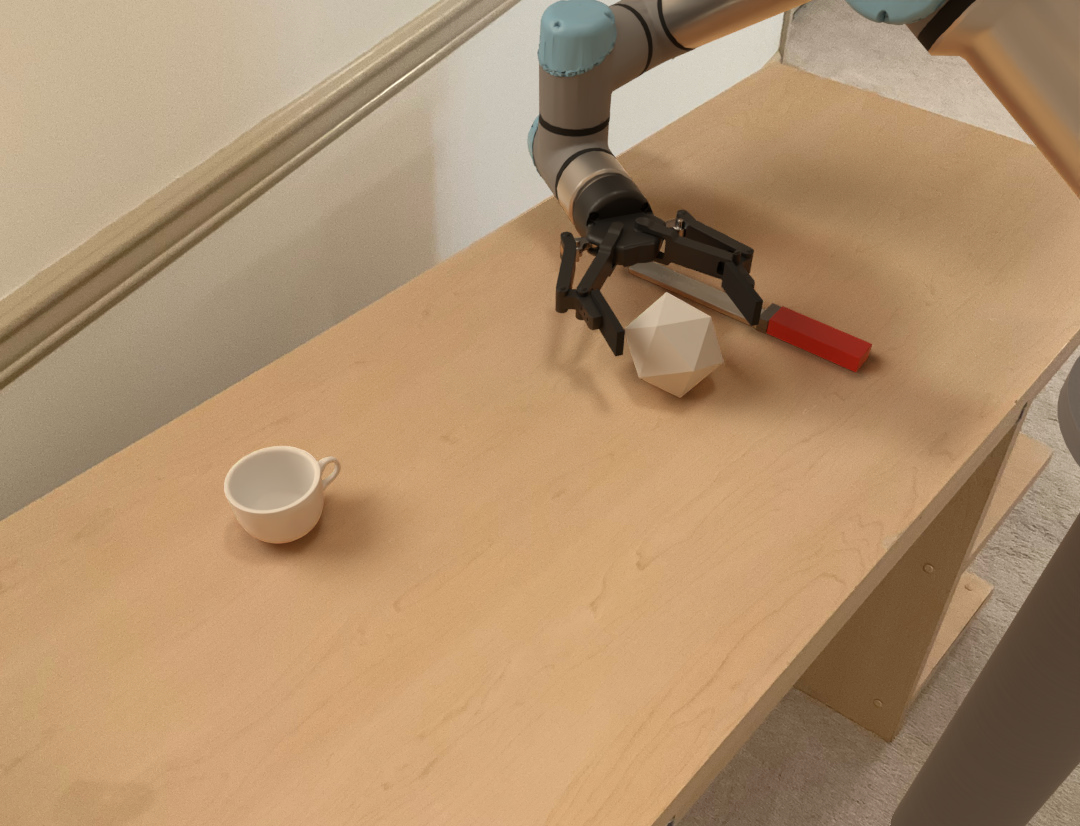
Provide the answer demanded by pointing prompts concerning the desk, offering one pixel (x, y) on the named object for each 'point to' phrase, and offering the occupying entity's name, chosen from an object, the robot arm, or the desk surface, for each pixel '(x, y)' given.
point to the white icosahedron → (673, 345)
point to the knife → (766, 318)
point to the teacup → (278, 492)
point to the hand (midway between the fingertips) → (690, 328)
